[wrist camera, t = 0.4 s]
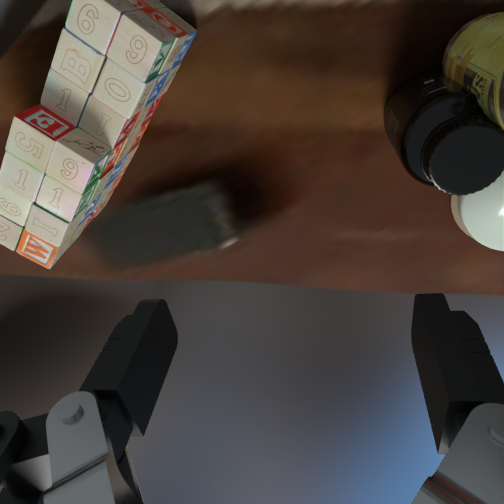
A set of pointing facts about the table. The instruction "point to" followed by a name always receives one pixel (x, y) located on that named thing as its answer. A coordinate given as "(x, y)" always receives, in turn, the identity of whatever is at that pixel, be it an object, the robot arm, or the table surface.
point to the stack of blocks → (86, 121)
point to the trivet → (482, 214)
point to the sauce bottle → (480, 63)
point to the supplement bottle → (444, 134)
